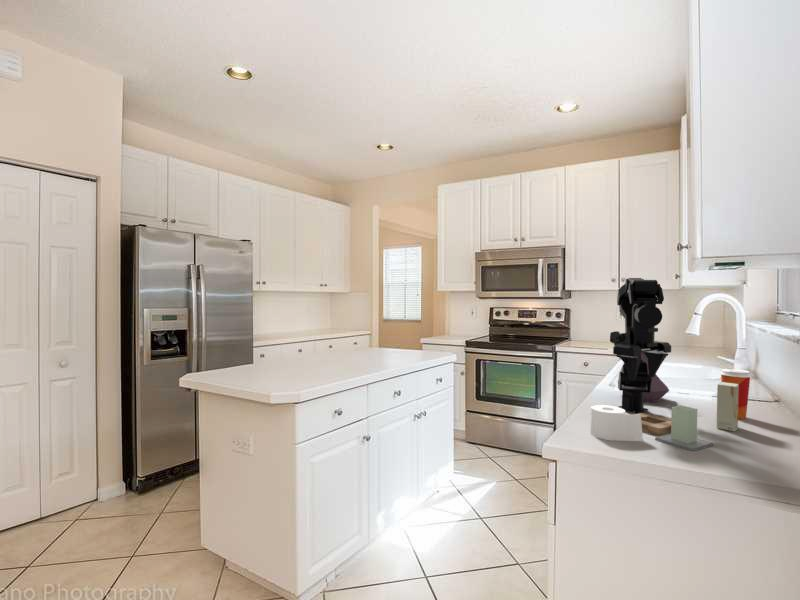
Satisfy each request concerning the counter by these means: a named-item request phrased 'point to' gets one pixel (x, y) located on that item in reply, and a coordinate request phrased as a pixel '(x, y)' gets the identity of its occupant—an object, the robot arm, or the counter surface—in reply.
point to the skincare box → (727, 406)
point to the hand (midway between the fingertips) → (641, 378)
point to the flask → (654, 386)
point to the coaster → (690, 446)
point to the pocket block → (655, 424)
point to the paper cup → (743, 381)
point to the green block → (684, 424)
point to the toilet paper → (615, 424)
